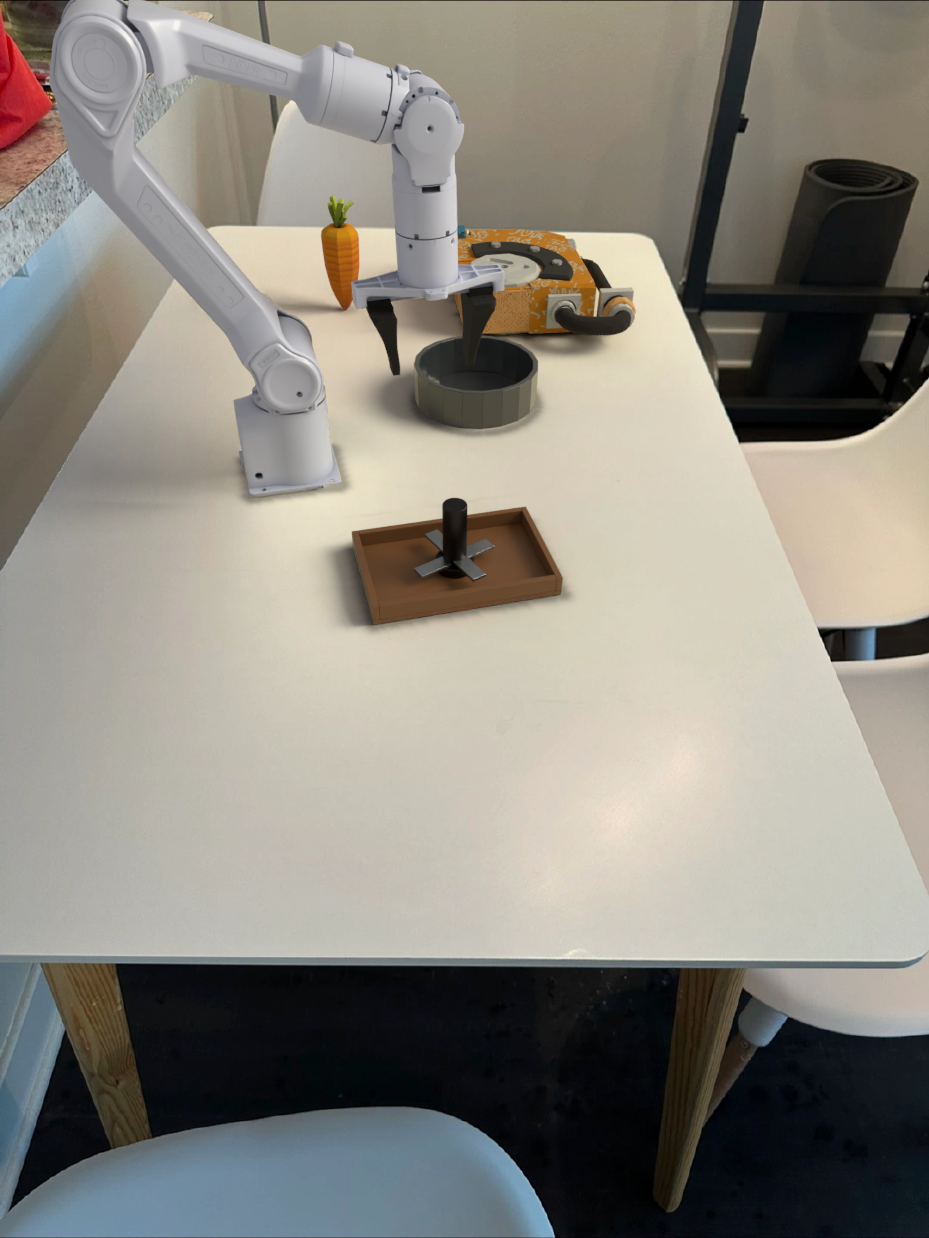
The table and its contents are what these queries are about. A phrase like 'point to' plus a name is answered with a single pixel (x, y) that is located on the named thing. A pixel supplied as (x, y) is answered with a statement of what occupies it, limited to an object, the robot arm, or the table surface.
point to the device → (545, 284)
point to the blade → (454, 545)
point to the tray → (402, 594)
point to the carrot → (340, 252)
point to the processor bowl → (476, 383)
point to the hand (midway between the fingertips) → (432, 366)
